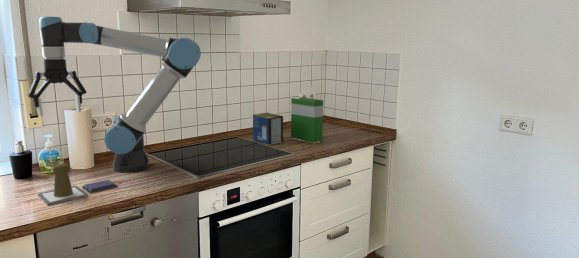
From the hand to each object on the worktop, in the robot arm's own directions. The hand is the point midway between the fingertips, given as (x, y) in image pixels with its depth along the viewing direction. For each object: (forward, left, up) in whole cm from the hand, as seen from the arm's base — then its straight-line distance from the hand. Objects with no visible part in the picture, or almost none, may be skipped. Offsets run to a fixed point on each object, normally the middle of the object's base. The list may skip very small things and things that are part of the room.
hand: (60, 113), depth 163 cm
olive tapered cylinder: (+7, +20, -26) cm, 33 cm away
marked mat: (+7, +20, -27) cm, 34 cm away
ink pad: (-6, +19, -27) cm, 33 cm away
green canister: (-123, +15, -27) cm, 127 cm away
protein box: (-104, +3, -27) cm, 108 cm away
